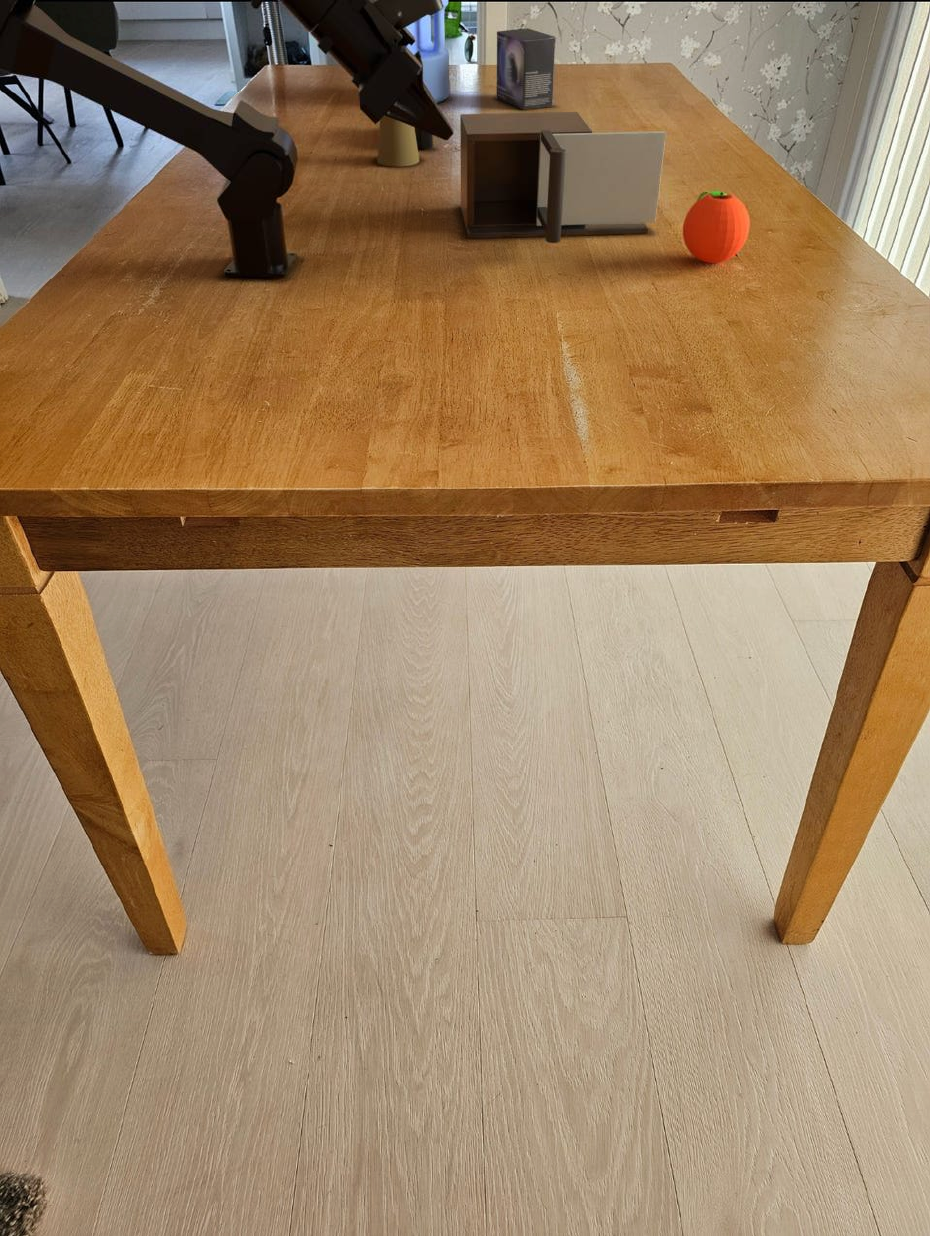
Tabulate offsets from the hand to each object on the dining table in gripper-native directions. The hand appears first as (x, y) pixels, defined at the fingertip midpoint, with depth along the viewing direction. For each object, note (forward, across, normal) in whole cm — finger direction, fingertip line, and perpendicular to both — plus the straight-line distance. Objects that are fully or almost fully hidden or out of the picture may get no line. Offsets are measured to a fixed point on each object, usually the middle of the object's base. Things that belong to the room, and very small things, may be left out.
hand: (450, 136), depth 94 cm
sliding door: (+20, +4, -4) cm, 21 cm away
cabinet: (+18, +14, 0) cm, 23 cm away
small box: (+22, +80, -4) cm, 83 cm away
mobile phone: (+7, +56, +11) cm, 57 cm away
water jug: (+8, +86, +11) cm, 87 cm away
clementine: (+29, -2, -11) cm, 31 cm away
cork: (+6, +43, +12) cm, 45 cm away
